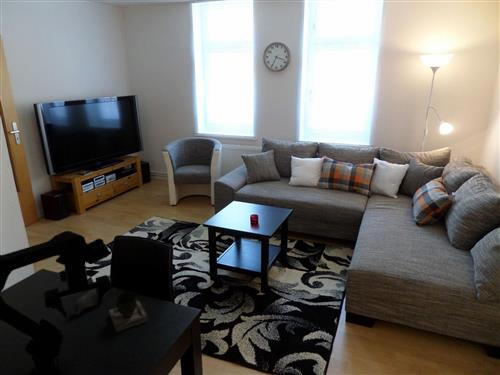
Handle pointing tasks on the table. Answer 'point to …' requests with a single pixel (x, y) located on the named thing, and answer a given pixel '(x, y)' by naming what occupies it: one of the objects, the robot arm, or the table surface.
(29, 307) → the table surface
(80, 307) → the decorative bird
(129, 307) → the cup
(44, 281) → the table surface
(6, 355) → the table surface
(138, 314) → the birch stand
